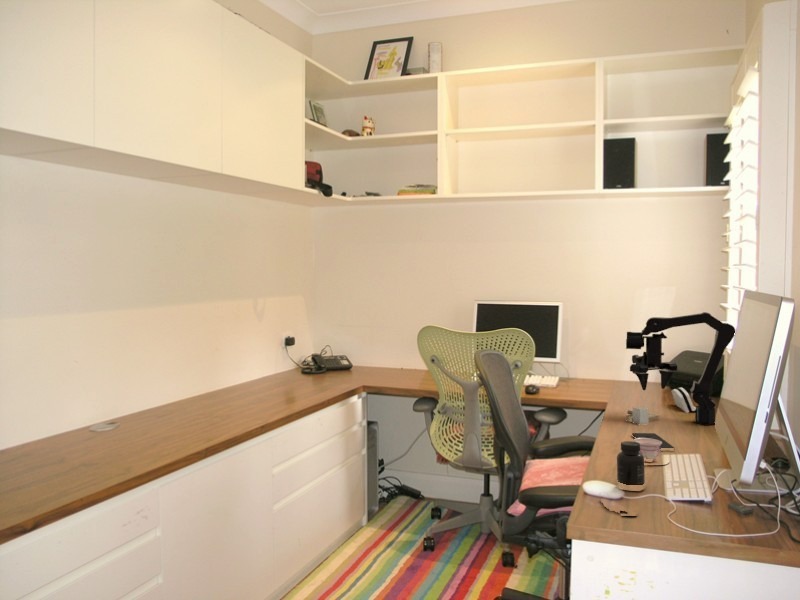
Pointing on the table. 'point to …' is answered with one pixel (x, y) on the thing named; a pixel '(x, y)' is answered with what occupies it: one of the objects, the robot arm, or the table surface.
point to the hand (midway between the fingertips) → (653, 389)
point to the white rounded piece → (683, 400)
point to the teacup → (649, 447)
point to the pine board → (650, 417)
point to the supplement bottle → (630, 464)
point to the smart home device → (653, 436)
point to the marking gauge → (639, 415)
